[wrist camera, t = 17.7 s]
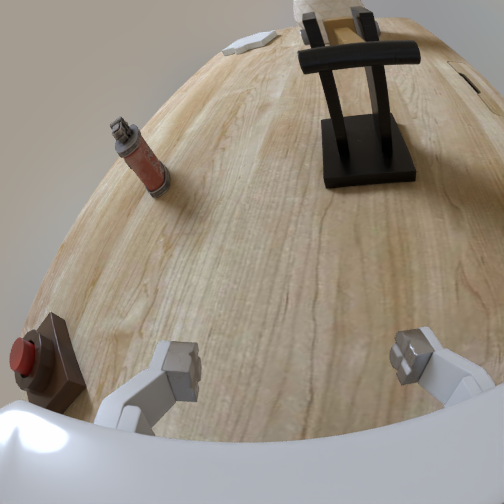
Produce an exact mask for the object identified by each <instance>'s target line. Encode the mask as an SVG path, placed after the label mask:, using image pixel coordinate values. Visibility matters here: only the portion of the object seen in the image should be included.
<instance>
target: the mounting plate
mask: <svg viewBox="0 0 504 504" xmlns="http://www.w3.org/2000/svg"><path fill="white" fill-rule="evenodd" d="M276 36H277V33H276V30H274V31H269V32H265V33H263V32H260V33H256V34H254V35H252V36H248V37H244V38H241V39H239V40H237V41H235V42H234V43H233V44H231V45H230V46H228V47H227V48H225V49H224V50H222V52H223V54H224V56H226V55H230V54H234V53H236V54H241V53H244V52H246V51H247V50H250V49H254V48H258V47H263V46H264V45H266V44H267V43H268V42H269V41H271V40H272V39H273V38H275V37H276Z"/></svg>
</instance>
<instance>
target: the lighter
mask: <svg viewBox="0 0 504 504" xmlns="http://www.w3.org/2000/svg"><path fill="white" fill-rule="evenodd" d="M110 127H111V129H112V135H113V136H114V138H115V139H116V143H115V149H116V151H117V153H118V154H119V156H120V157H121V158H124V160H125V162H126V163H127V165H128V166H129V167H130V169H133V171H134V172H135V173H136V174H137V176H138V177H139V178H140V179H141V181H142V182H143V183H144V185H145V188H146V189H147V191H148V192H149V193H150V195H151V196H152V197H154V198H155V197H159V196H160V195H162V194H163V193H165V192H166V191H167V190H168V188H169V186H170V177H169V172H168V171H167V169H166V167H165V166H164V164H163V163H162V162H161V161H160V160H158V158H157V157H156V156H155V154H154V153H153V151H152V150H151V149H150V147H149V146H148V144H147V143H146V142H145V140H144V139H143V137H142V136H141V132H140V130H139V129H138V127H137V126H136V125H134V124H133V125H130V126H128V123H127V122H125V121H124V119H123V118H122V117H121V116H120V117H119V118H117V119H116V120H115V121H114V122H113V123H111V124H110Z"/></svg>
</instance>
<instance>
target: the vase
mask: <svg viewBox="0 0 504 504" xmlns="http://www.w3.org/2000/svg"><path fill="white" fill-rule="evenodd" d="M356 6H362V7H364V5H363V4H362V2H361V0H293V7H294V20H295V22H296V23H297V24H298V25H299V26H300V27H301V28H302V29H305V28H304V25H303V23H302V14H303V13H309V12H314V13H315V16H316V19H317V22H318V25H319V28H320V31H321V34H322V37H323V40H324V44H329V41H328V37H327V34H326V31H325V28H324V25H323V21H322V19H327V18H334V17H343V16H349V17H351V18H353V16H352V13H351V9H350V7H356ZM364 8H365V7H364ZM365 9H366V8H365ZM354 24H355V23H354Z"/></svg>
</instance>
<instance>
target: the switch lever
mask: <svg viewBox="0 0 504 504" xmlns="http://www.w3.org/2000/svg"><path fill="white" fill-rule="evenodd" d="M322 21H323V25H324V28H325V31H326V34H327V37H328V41H329V44H330V46H325V47H318V48H312V49H307V50H301V51H298V52H297V54H298V59H299V63H300V66H301V69H302V71H303V73H304V74H311V73H317V72H323V71H330V70H338V69H346V68H355V67H366V66H379V65H403V64H420V61H421V56H420V51H419V48H418V45H417V43H416V42H415V41H413V40H392V41H371V42H366V41H364V40H363V39H362V38H361V37H360V36H358V35H357V31H356V27H355V24H354V20H353V18H351V17H349V16H343V17H334V18H327V19H322Z"/></svg>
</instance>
